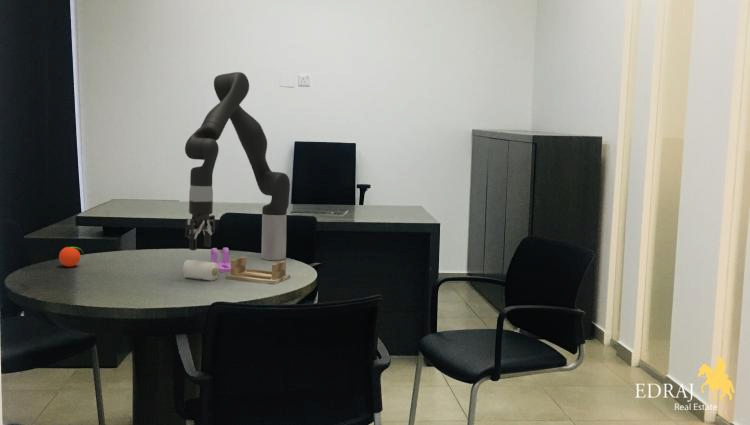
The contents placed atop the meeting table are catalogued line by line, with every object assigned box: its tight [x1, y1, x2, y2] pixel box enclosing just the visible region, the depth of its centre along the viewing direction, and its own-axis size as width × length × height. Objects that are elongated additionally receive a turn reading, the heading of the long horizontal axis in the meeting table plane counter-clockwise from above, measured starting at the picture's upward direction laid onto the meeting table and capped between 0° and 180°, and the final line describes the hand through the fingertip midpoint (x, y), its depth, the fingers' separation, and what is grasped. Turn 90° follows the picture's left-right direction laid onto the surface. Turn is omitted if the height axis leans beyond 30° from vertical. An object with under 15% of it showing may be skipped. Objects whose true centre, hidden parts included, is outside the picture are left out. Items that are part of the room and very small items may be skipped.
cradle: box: [225, 256, 291, 285], centre depth 256 cm, size 12×18×6 cm, turn 71°
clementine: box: [58, 246, 85, 268], centre depth 264 cm, size 8×7×7 cm
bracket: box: [210, 247, 231, 274], centre depth 269 cm, size 13×6×7 cm, turn 28°
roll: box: [182, 259, 220, 282], centre depth 252 cm, size 11×6×6 cm, turn 71°
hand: (200, 248), depth 251 cm, fingers open, 8 cm apart
